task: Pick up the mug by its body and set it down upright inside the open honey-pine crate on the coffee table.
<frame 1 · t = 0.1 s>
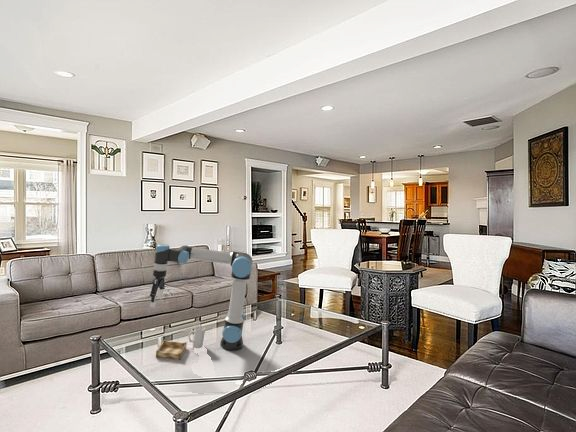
hand: (156, 302, 214), 28 cm above the table, fingers open, 13 cm apart
mug: (194, 346, 225), on the table
crate: (171, 352, 212), on the table
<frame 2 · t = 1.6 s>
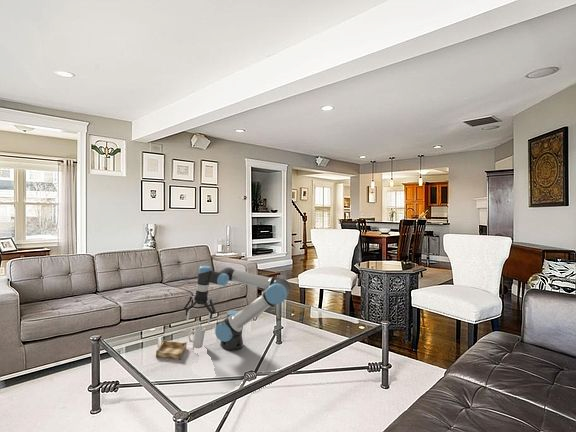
hand: (198, 321, 223), 16 cm above the table, fingers open, 13 cm apart
nothing on the table moved.
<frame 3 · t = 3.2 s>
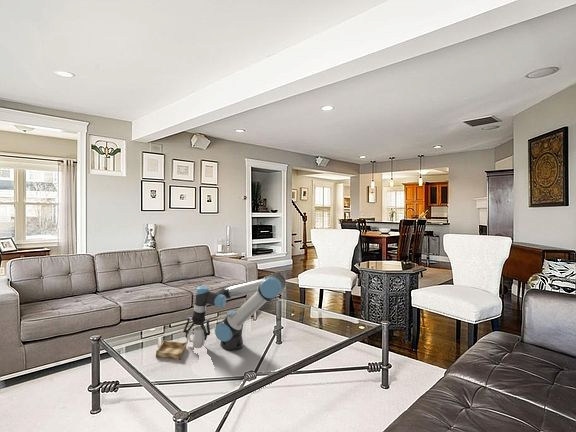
hand: (195, 343, 224), 2 cm above the table, fingers closed on mug, 10 cm apart
mug: (194, 346, 225), on the table, touching gripper
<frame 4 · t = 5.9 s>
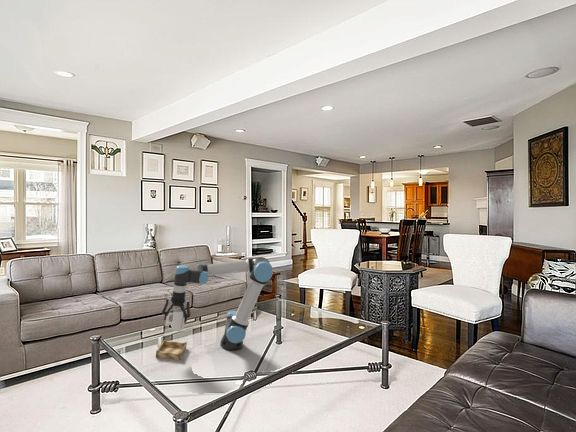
hand: (174, 326, 211), 17 cm above the table, fingers closed on mug, 9 cm apart
mug: (174, 329, 211), point 15 cm above the table, touching gripper
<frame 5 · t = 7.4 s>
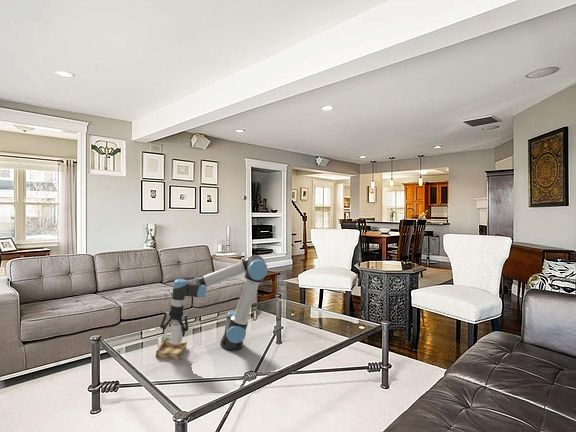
hand: (172, 340, 211), 8 cm above the table, fingers closed on mug, 9 cm apart
mug: (172, 342, 212), point 6 cm above the table, touching gripper
when the fingers open (4 cm above the table, at t = 8.6 s): mug drops 2 cm, resting on crate.
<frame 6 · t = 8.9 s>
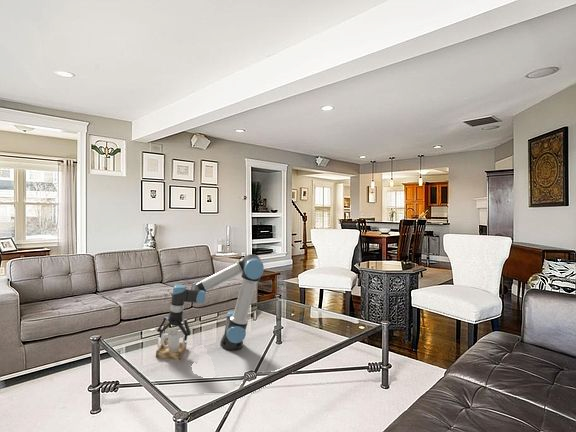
hand: (172, 344, 212), 6 cm above the table, fingers open, 12 cm apart
mug: (171, 351, 212), point 1 cm above the table, touching crate
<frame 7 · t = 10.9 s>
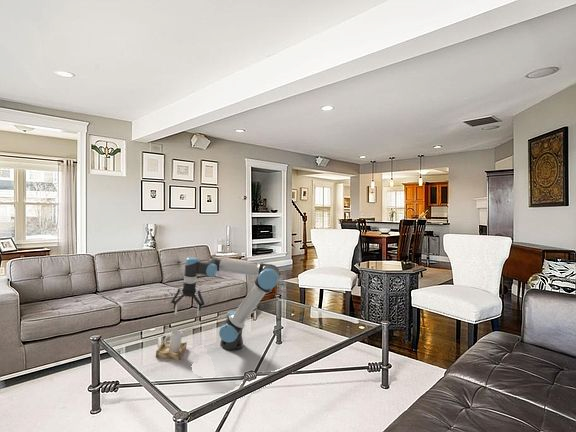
hand: (186, 314, 219), 21 cm above the table, fingers open, 13 cm apart
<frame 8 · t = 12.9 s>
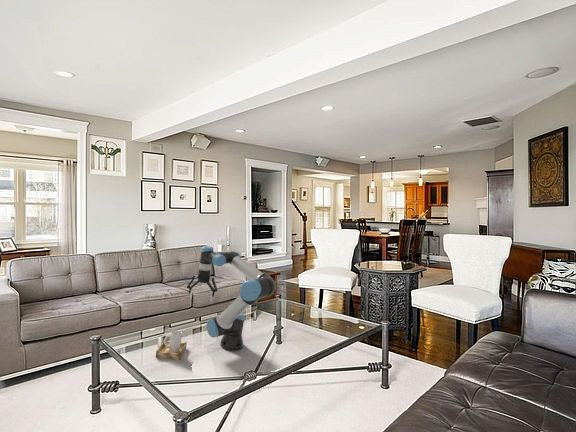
hand: (200, 299, 234), 27 cm above the table, fingers open, 13 cm apart
at the end: mug inside the target area on the crate (0.1 cm from its centre), point 0.6 cm above the crate's base; mug tilted 1°; the gripper is holding nothing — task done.
